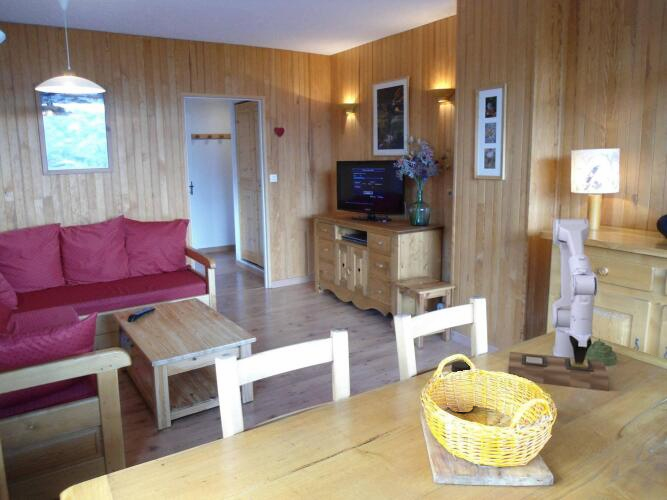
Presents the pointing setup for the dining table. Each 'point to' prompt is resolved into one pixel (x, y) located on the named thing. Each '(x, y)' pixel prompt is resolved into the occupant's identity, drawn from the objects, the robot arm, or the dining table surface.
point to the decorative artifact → (601, 353)
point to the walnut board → (559, 371)
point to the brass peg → (578, 364)
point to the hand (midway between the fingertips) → (578, 362)
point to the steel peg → (533, 360)
